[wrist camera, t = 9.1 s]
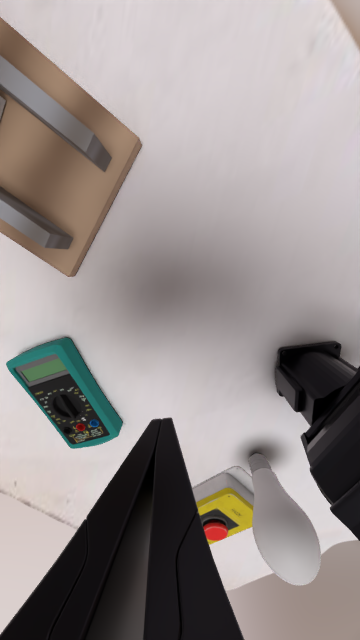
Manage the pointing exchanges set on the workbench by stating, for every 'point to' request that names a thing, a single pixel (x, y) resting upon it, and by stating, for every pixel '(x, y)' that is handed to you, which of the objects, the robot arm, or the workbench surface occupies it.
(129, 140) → the knob mount
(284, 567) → the lightbulb
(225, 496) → the emergency button
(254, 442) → the workbench surface
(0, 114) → the knob carriage
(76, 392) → the digital multimeter
